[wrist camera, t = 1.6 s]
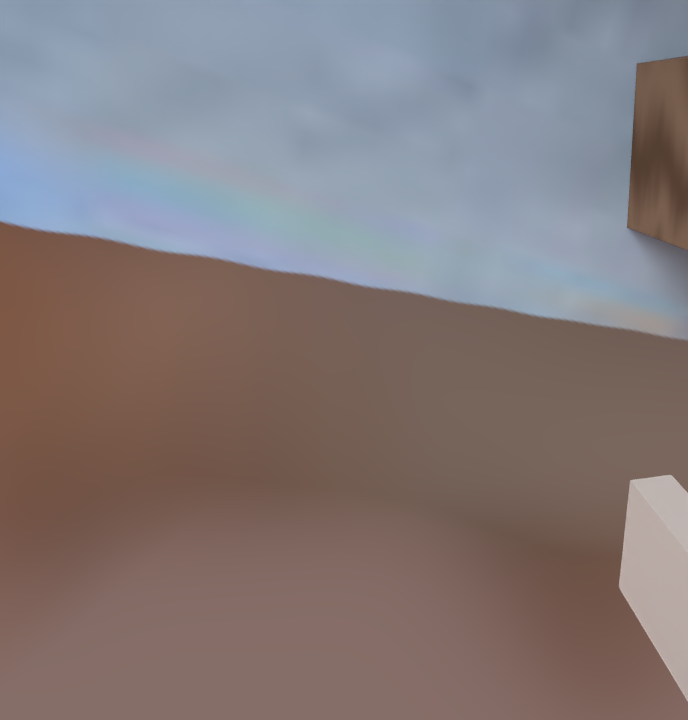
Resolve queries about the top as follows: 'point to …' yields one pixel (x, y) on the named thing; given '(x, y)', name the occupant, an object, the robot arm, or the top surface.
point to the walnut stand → (660, 152)
